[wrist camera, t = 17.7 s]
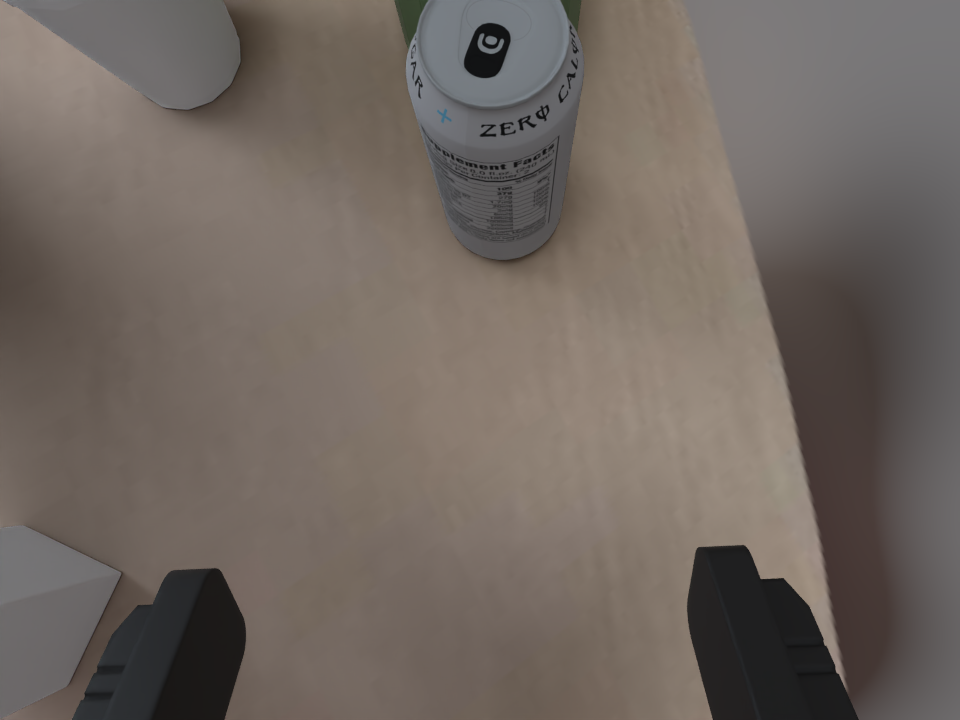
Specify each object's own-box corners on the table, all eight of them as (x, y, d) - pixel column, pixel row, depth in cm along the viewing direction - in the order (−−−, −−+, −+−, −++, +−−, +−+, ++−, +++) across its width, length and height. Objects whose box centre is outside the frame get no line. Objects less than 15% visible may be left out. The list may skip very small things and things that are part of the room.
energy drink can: (576, 174, 36) (614, -24, 22) (540, 280, 36) (554, 148, 21) (468, 142, 37) (434, -73, 22) (431, 245, 36) (369, 94, 21)
